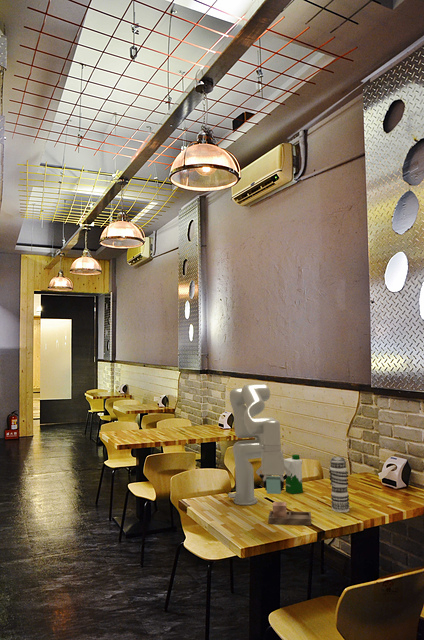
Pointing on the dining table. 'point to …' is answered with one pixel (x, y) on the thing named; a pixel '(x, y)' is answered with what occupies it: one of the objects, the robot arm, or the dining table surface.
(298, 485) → the milk carton
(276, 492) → the teal cube
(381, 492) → the dining table surface
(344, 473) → the decorative candle
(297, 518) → the walnut tray
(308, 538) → the dining table surface
